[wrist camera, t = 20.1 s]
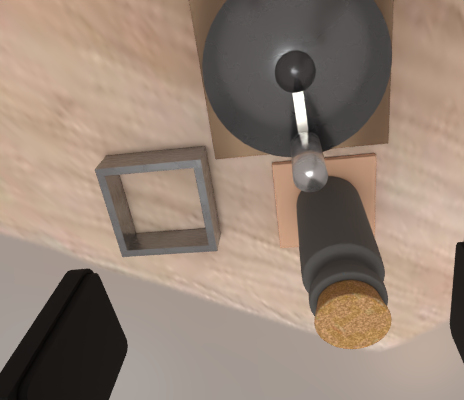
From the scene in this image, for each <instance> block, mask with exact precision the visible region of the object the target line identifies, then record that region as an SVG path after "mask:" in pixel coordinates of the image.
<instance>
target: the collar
mask: <svg viewBox="0 0 464 400" xmlns="http://www.w3.org/2000/svg"><path fill="white" fill-rule="evenodd" d="M186 168H194V172H195V177H196V182H197V187H198V192H199V197H200V202H201V207H202V213H203V218H204V223H205V229H191V230H177V231H163V232H149V233H136V232H135V228H134V225H133V221H132V218H131V214H130V211H129V207H128V204H127V200H126V197H125V193H124V190H123V186H122V183H121V179H120V176H119V175H120V174H131V173H142V172H153V171H164V170H175V169H186ZM95 172H96V175H97V178H98V181H99V184H100V188H101V191H102V194H103V197H104V200H105V204H106V207H107V210H108V213H109V216H110V219H111V223H112V226H113V229H114V232H115V235H116V238H117V242H118V245H119V248H120V251H121V254H122V257H129V256H145V255H161V254H177V253H193V252H209V251H217V250H218V245H219V240H220V235H221V232H220V226H219V220H218V215H217V209H216V203H215V198H214V192H213V186H212V181H211V175H210V169H209V164H208V158H207V153H206V147H205V146H201V147H191V148H180V149H170V150H160V151H150V152H139V153H129V154H119V155H109V156H106V157H105V158H104V159H103V160H102V161H101V163H100V164H99V165H98V166H97V167H96V169H95Z"/></svg>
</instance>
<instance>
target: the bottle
mask: <svg viewBox="0 0 464 400" xmlns="http://www.w3.org/2000/svg"><path fill="white" fill-rule="evenodd" d="M296 208H297V225H298V238H299V251H300V262H301V273H302V280H303V284H304V287H305V289H306V290H307V292H308V293H309V304H310V308H311V311H312V313H313V315H314V316H315V323H314V324H315V328H316V331H317V333H318V334H319V336H320V337H321V338H322V339H323V340H324V341H326V342H327V343H329V344H331V345H333V346H336V347H339V348H344V349H358V348H364V347H367V346H370V345H372V344H375V343H377V342H378V341H380V340H381V339H382V338H383V337H384V336H385V335H386V334H387V332H388V331H389V329H390V326H391V314H390V311H389V309H388V307H387V303H388V295H387V291H386V288H385V285H384V283H383V281H384V276H385V270H384V265H383V262H382V259H381V256H380V253H379V250H378V247H377V244H376V241H375V238H374V235H373V232H372V229H371V226H370V223H369V220H368V218H367V215H366V212H365V209H364V206H363V203H362V201H361V198H360V196H359V193H358V191H357V190H356V188H355V187H354V186H353V185H352V184H351V183H350V182H348V181H347V180H344V179H342V178H339V177H334V176H328V180H327V183H326V184H325V186H324V187H323V188H321V189H320V190H318V191H315V192H304V191H301V192H300V194H299V195H298V199H297V205H296Z"/></svg>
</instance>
